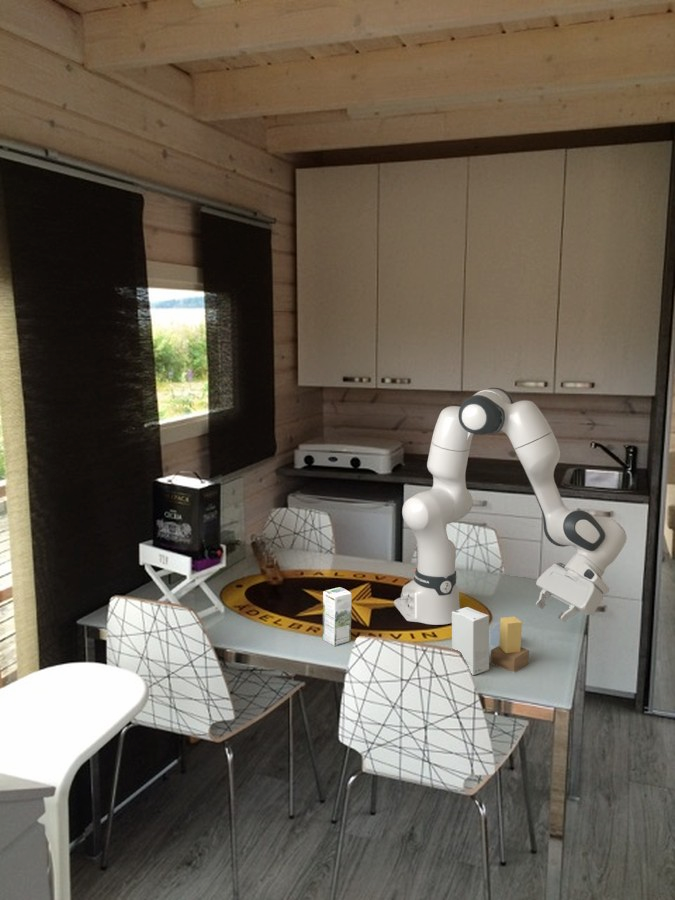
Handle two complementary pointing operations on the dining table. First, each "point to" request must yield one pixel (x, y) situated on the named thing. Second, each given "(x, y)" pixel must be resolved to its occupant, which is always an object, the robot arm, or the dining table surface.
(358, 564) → the dining table surface
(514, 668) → the walnut block
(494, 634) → the slate cube
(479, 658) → the skincare box
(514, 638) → the ochre post
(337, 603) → the syrup box
